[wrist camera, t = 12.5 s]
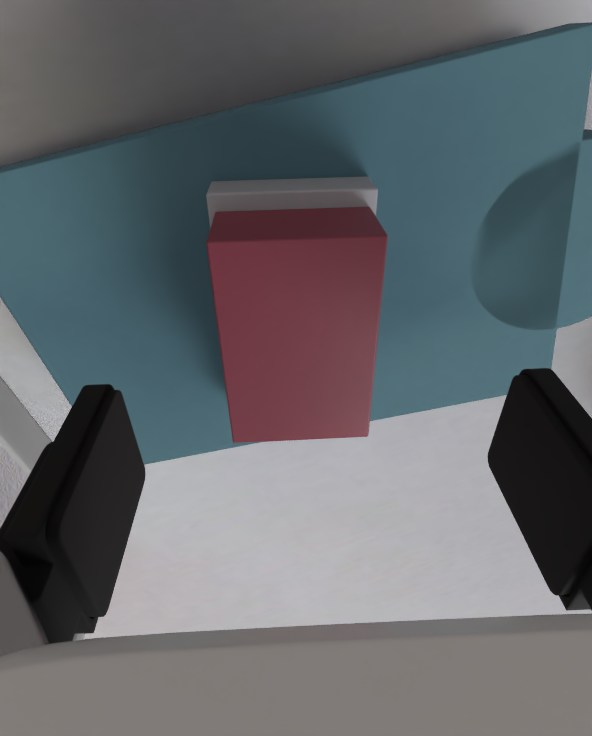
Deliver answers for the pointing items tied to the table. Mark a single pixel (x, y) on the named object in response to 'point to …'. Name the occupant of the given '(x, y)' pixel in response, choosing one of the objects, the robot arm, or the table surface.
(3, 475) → the red-striped rounded block
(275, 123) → the board
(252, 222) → the maroon block on base
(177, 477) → the table surface
